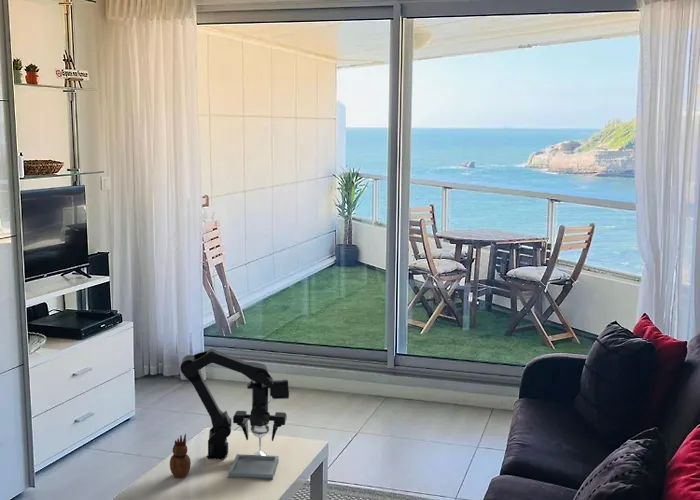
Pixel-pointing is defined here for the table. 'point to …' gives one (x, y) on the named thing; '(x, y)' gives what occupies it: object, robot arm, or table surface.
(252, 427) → the wineglass
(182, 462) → the wooden figurine
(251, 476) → the serving tray
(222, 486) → the table surface
